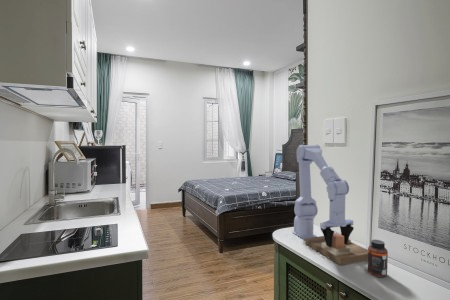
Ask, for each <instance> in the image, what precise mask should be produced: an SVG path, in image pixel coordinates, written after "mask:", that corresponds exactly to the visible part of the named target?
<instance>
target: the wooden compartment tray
mask: <svg viewBox="0 0 450 300" xmlns="http://www.w3.org/2000/svg"><path fill="white" fill-rule="evenodd" d="M324 242H326V241H325V237H324V235H322V236H317V237H313V238H306V239H305V245H306V246H308V247H310V248H311V249H314V251H316V252H318V253H320V254H321V255H323V256H324V257H326V258H328V259H329V260H331V261H333V262H335V263H336V264H337V265H339V266H344V265H349V264H354V263H359V262H365V261H368V248H365V247H363V246H361V245H358V244H357V243H355V242H352V239H351V238H349V239H348V242H347V244H346V245H348V246H350V247H352V248H353V249H352V253H349V254H343V255H338V256H335V255H333V254H332V253H330V252H328V251H327V250H325V249H323V248H322V243H324Z"/></svg>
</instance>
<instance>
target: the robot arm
mask: <svg viewBox="0 0 450 300" xmlns="http://www.w3.org/2000/svg"><path fill="white" fill-rule="evenodd" d="M322 149H323V148H321V146H320V145H319V144H306V145H305V144H300V145H299V146H298V147H297V149H296V150H295V151H296V162H297V163H298V173H299V174H298V175H299V176H298V177H299V178H298V179H299V197H298V198H297V199H296V200H295V201H294V208H293V211H294V214H295V217H294V219H293V231H292V234H295V235H296V236H298V237H300V238H301V239H303V240H306V238H313V237H318V235H317V234H315V233H314V219H315V218H316V216H317V215H318V211H319V209H318V206H317V201H316V199H315V198H313V197H312V186H311V183H312V182H311V164H312V163H314V164H315V165H316V166H317V167H318V169H319V171H320V172H319V175H320V176H321V178H322V180H323V181H324V183H325V184H326V192H327V196H328V197H327V198H328V200H329V214H328V215H329V216H328V217H329V220H327V221H324V222H320V226H319V228H320V231H321V233H322V234H323V235H322V236H324V237H325V241H326V245H327V246H329V247H331V246H332V237H333V234H334V232H335V231H334V230H332V228H339V229H340V234H341V235H343V236H344V244H347V242H348V239H350V235H351V234H352V232H353V231H354V229H355V228H354V220H352V219H346V196H347V194H348V193H349V191H350V185H349V183H348V181H347V180H346V179H342V178H340V176H339V175H338V173H337V172H336V171H335V169H334V168H333V167H332V166H328V163H327V161H326V159H325V158H324V156H323V155H322V154H323V150H322Z"/></svg>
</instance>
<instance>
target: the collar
mask: <svg viewBox="0 0 450 300" xmlns="http://www.w3.org/2000/svg"><path fill="white" fill-rule="evenodd" d="M322 248H323V249H325V250H327V251H328V252H330V253H332V254H333V255H335V256H338V255H343V254H349V253H352V249H353V248H352V247H350V246H348V245H346V244H344V248H338V249H335V248H334V247H332V246H331V247H329V246H327V245H326V242H324V243H322Z"/></svg>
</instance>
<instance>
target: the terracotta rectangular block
mask: <svg viewBox="0 0 450 300" xmlns="http://www.w3.org/2000/svg"><path fill="white" fill-rule="evenodd" d="M338 233H339V232H338ZM338 233H334V234H333V237H332V247H334V248H335V249H338V248H344V236H343V235H340V234H341V233H340V234H338Z"/></svg>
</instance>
